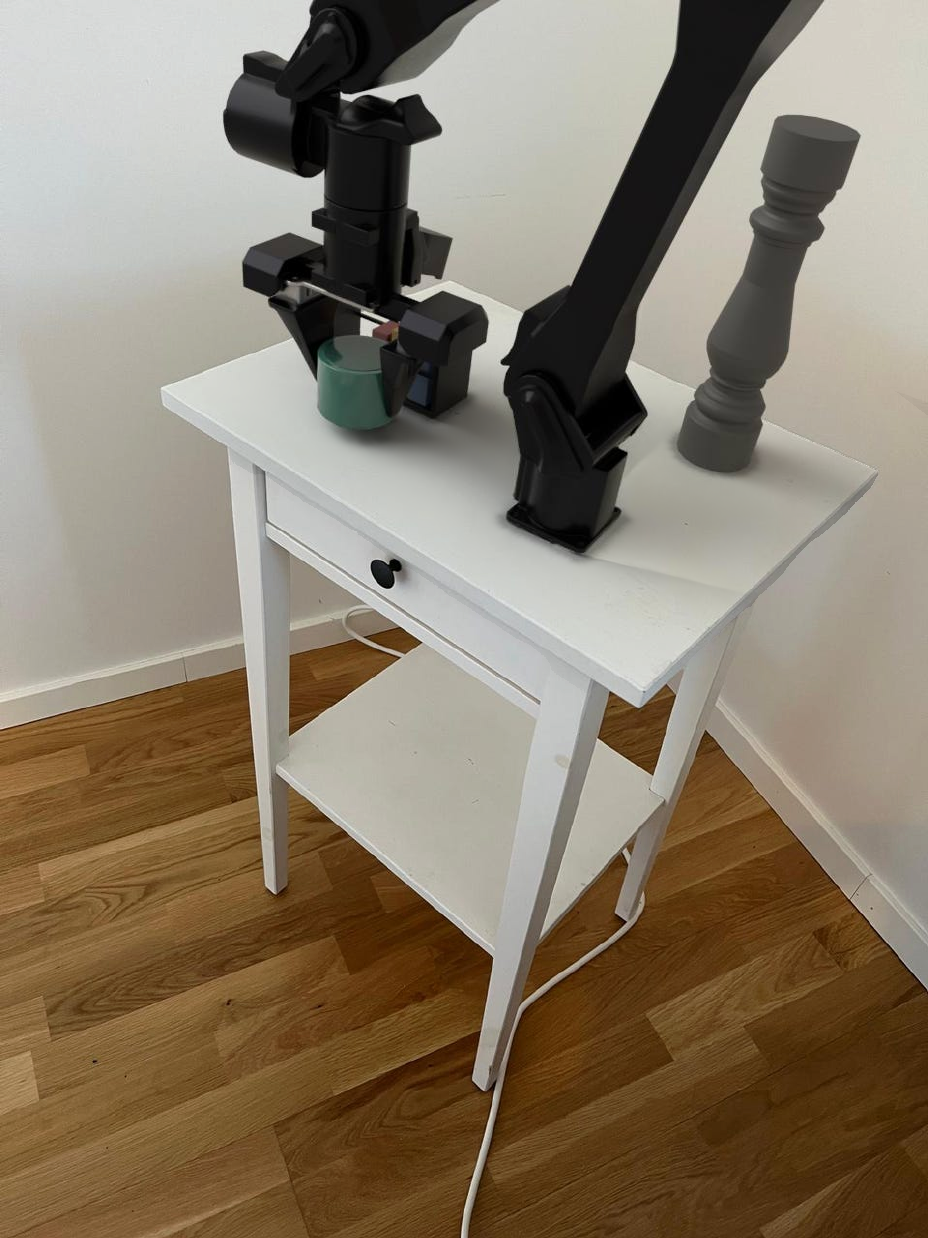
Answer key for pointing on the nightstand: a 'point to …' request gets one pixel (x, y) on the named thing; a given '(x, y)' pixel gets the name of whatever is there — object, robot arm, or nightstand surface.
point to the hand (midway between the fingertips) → (358, 400)
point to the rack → (446, 378)
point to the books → (421, 385)
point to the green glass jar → (351, 382)
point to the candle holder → (765, 290)
